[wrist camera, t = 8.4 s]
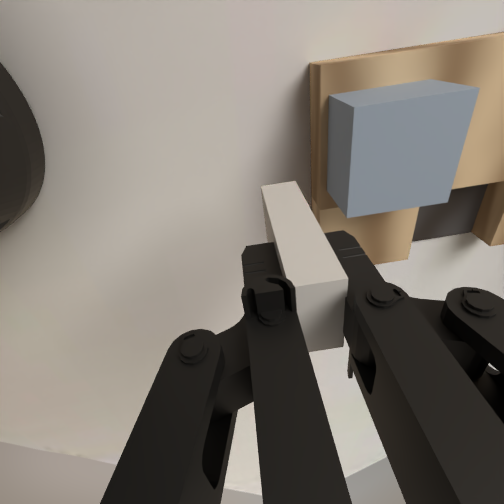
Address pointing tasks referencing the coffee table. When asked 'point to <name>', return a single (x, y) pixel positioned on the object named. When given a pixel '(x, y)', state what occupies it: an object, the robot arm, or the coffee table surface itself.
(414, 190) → the block
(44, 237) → the coffee table surface
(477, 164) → the board
